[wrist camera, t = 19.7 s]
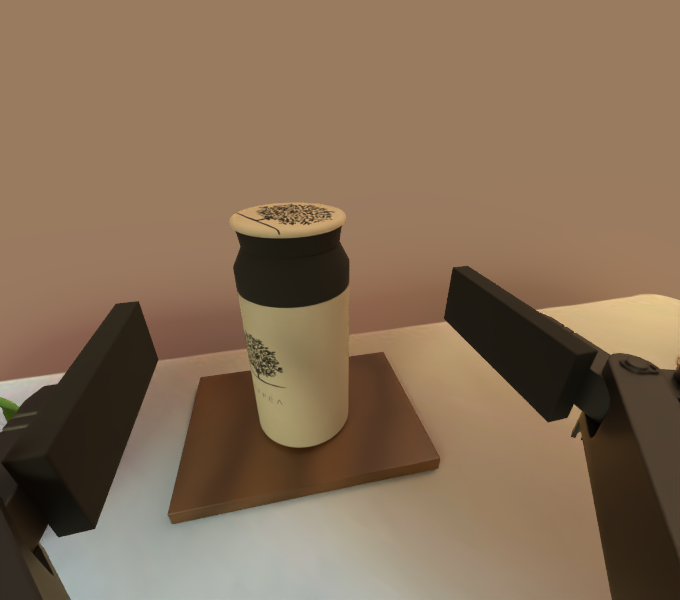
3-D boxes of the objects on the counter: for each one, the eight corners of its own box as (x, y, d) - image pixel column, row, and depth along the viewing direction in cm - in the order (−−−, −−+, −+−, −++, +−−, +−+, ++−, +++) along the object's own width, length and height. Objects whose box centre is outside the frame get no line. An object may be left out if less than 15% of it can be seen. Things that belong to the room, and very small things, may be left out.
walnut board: (171, 525, 23) (167, 515, 22) (202, 385, 35) (200, 377, 34) (438, 468, 26) (440, 458, 26) (382, 359, 38) (383, 351, 38)
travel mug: (321, 372, 35) (313, 197, 26) (365, 422, 29) (374, 218, 20) (247, 402, 31) (211, 210, 22) (281, 468, 25) (249, 240, 17)
